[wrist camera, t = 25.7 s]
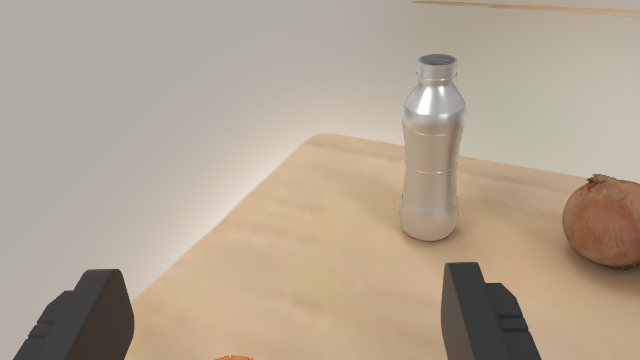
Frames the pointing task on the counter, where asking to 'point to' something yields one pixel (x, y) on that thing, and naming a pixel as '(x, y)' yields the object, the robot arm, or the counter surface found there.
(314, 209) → the counter surface
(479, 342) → the robot arm
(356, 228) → the counter surface
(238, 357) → the orange grooved tube
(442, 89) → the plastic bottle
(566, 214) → the onion
